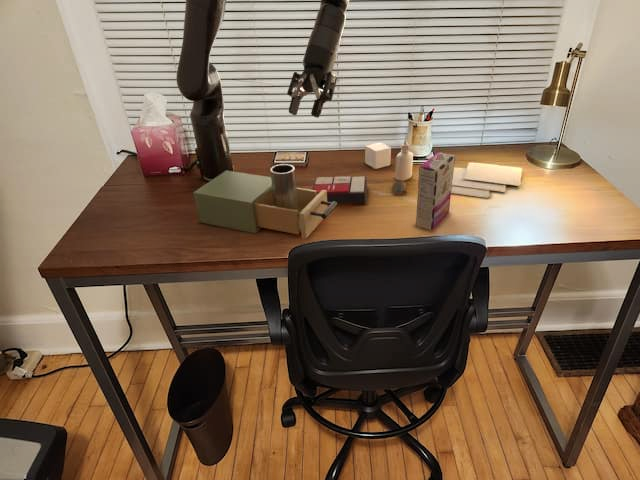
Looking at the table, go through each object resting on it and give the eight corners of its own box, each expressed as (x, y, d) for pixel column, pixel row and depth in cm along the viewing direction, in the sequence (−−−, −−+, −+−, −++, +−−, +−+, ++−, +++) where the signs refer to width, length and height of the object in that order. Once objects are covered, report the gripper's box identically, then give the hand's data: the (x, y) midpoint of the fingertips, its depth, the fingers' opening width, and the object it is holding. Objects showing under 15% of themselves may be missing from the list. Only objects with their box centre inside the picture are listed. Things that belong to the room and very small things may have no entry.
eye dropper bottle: (392, 176, 137) (394, 138, 130) (410, 174, 138) (412, 137, 131) (396, 181, 134) (398, 143, 127) (414, 180, 135) (416, 141, 128)
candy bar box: (432, 208, 119) (438, 150, 110) (449, 213, 117) (456, 154, 108) (413, 226, 112) (418, 165, 102) (431, 231, 110) (438, 170, 100)
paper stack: (518, 202, 122) (519, 199, 122) (430, 190, 129) (430, 188, 128) (521, 170, 140) (521, 168, 140) (443, 160, 146) (443, 158, 146)
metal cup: (272, 219, 111) (265, 171, 103) (283, 209, 115) (277, 162, 108) (292, 223, 109) (287, 175, 102) (303, 213, 114) (298, 165, 106)
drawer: (342, 216, 115) (341, 192, 111) (322, 241, 105) (320, 216, 101) (276, 204, 120) (273, 181, 116) (250, 228, 110) (246, 203, 106)
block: (403, 186, 131) (404, 180, 130) (406, 195, 126) (406, 189, 125) (391, 186, 131) (391, 180, 130) (393, 195, 126) (393, 189, 125)
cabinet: (283, 207, 121) (279, 178, 116) (256, 233, 110) (250, 202, 104) (231, 198, 125) (226, 170, 120) (200, 222, 114) (192, 192, 109)
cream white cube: (390, 165, 144) (391, 147, 141) (375, 169, 142) (375, 151, 138) (379, 159, 148) (380, 141, 145) (365, 163, 146) (365, 145, 142)
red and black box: (315, 175, 129) (366, 174, 128) (317, 189, 131) (367, 187, 130) (310, 192, 120) (364, 190, 119) (312, 206, 122) (365, 204, 121)
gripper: (292, 44, 109) (274, 107, 111) (332, 41, 101) (311, 110, 102) (313, 59, 115) (295, 119, 117) (352, 58, 107) (332, 123, 108)
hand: (303, 115), depth 109 cm, fingers open, 8 cm apart
